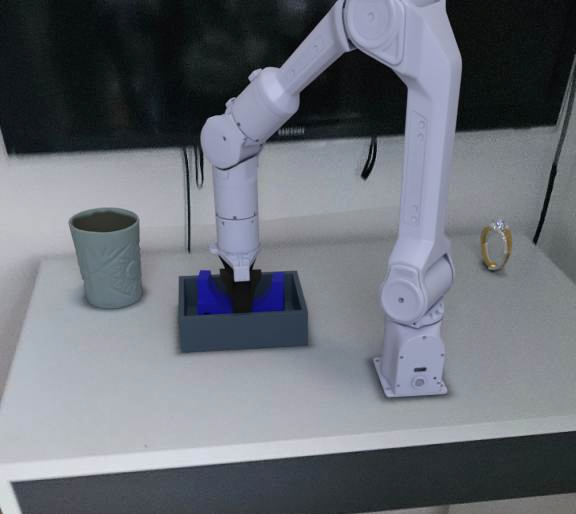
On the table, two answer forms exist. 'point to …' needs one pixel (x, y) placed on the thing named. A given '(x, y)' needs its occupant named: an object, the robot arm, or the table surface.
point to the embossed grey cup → (108, 255)
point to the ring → (506, 243)
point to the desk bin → (242, 319)
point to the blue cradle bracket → (221, 304)
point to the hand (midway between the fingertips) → (241, 307)
